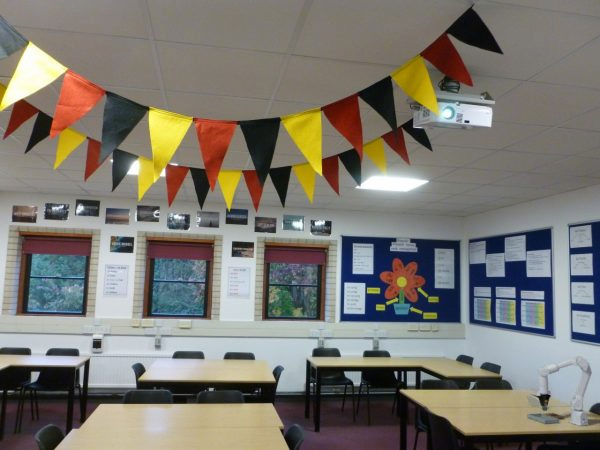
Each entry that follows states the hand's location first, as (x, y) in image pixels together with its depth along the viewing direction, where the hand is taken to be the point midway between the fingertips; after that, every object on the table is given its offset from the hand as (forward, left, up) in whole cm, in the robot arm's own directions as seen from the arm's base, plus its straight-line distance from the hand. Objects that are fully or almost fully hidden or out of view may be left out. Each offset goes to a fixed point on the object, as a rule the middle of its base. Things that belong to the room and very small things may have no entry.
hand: (544, 405), depth 333 cm
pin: (0, 0, -3) cm, 3 cm away
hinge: (+33, -24, -10) cm, 42 cm away
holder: (+3, -10, -10) cm, 14 cm away
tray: (-1, +2, -10) cm, 10 cm away
